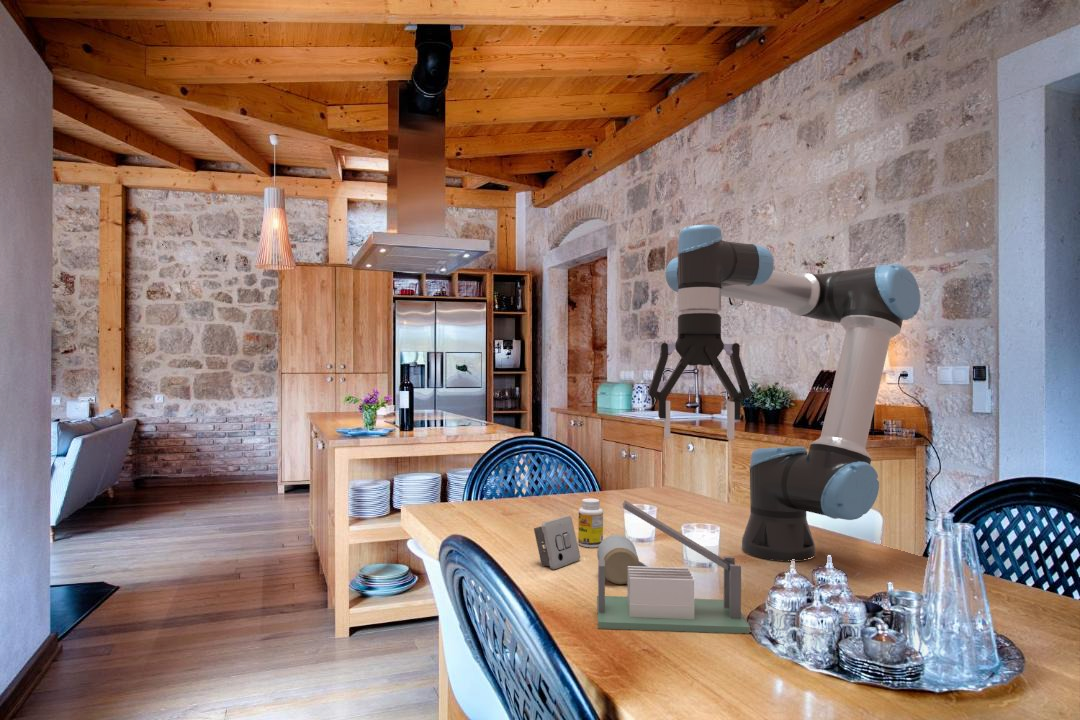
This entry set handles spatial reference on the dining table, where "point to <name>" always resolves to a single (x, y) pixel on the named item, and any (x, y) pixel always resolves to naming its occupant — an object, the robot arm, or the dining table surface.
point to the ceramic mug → (618, 558)
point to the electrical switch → (557, 542)
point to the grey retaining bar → (677, 536)
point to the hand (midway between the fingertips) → (698, 437)
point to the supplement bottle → (590, 523)
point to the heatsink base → (670, 602)
